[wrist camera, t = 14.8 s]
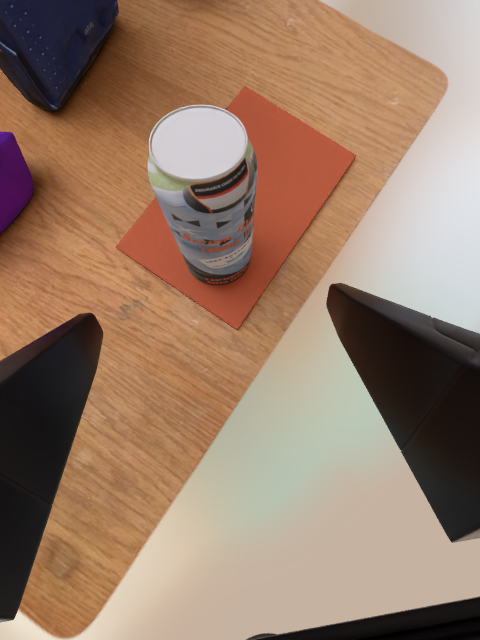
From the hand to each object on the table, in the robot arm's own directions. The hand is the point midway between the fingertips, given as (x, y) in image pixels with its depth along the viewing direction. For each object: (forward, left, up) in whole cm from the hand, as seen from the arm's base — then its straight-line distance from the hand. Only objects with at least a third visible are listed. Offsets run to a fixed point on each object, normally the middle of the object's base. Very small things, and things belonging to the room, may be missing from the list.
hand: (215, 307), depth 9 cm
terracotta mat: (+9, -10, -14) cm, 19 cm away
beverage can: (+6, -5, -13) cm, 16 cm away
